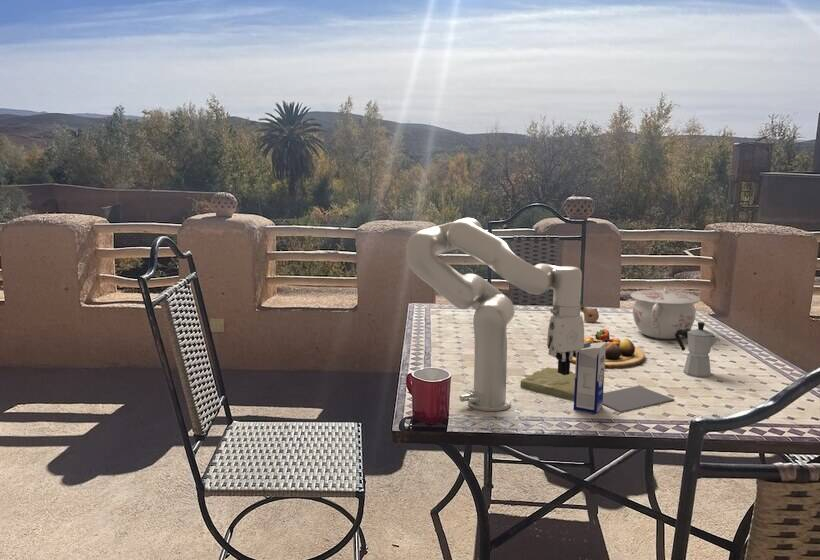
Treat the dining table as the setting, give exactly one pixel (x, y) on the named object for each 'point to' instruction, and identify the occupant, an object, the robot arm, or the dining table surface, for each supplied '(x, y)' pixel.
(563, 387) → the decorative tile
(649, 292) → the chamber pot
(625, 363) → the wooden plate with food
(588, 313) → the oil lamp
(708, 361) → the coffee maker
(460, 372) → the dining table surface
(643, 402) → the mat
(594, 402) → the milk carton
